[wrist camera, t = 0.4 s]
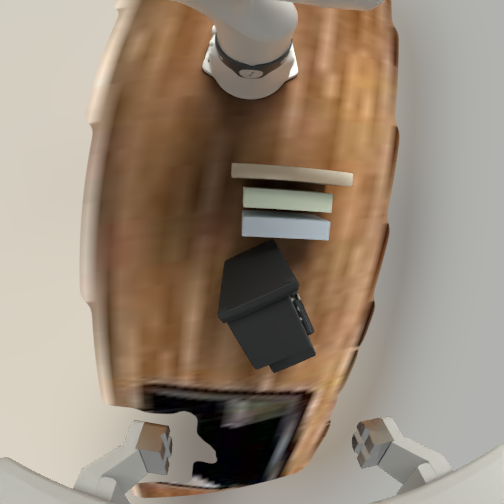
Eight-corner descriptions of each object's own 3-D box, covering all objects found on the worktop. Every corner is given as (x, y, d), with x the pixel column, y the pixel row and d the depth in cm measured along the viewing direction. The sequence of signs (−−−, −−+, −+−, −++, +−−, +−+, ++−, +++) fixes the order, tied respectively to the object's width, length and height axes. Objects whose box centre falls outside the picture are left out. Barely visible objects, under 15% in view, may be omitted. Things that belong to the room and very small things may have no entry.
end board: (233, 167, 52) (231, 163, 39) (326, 174, 53) (353, 173, 40) (233, 178, 53) (231, 176, 39) (325, 184, 54) (352, 186, 40)
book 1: (243, 186, 53) (244, 187, 43) (315, 191, 54) (332, 194, 43) (242, 202, 54) (243, 207, 43) (314, 206, 55) (331, 212, 44)
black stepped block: (314, 330, 62) (347, 399, 39) (270, 349, 62) (284, 424, 39) (273, 237, 56) (296, 276, 33) (223, 260, 57) (214, 313, 34)
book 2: (242, 209, 54) (242, 217, 44) (313, 213, 55) (330, 222, 44) (241, 225, 55) (242, 236, 44) (312, 228, 56) (328, 240, 45)
